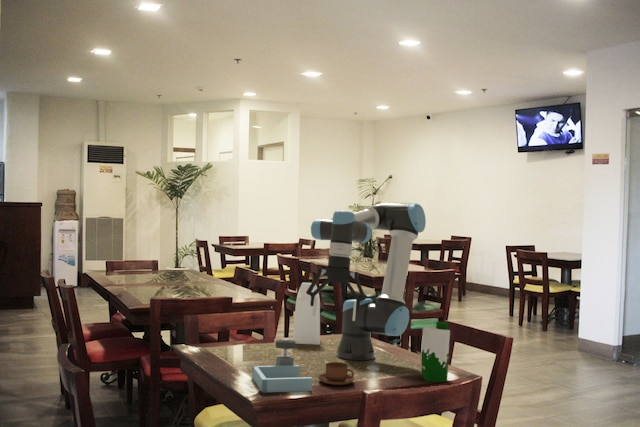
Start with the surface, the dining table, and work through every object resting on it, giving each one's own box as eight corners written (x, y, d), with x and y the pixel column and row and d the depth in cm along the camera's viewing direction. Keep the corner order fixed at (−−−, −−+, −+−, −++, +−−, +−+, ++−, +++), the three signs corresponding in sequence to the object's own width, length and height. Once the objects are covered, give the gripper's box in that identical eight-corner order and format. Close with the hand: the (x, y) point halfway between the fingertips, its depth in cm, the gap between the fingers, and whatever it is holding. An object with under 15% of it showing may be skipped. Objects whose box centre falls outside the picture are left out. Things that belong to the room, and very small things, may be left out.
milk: (292, 343, 275) (295, 283, 276) (293, 338, 287) (295, 281, 287) (320, 344, 275) (322, 284, 276) (319, 339, 287) (322, 282, 287)
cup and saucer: (354, 379, 217) (355, 361, 217) (353, 389, 205) (353, 370, 205) (320, 377, 218) (320, 359, 218) (316, 386, 206) (317, 367, 206)
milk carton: (450, 382, 218) (452, 324, 218) (424, 382, 217) (426, 324, 217) (443, 376, 226) (445, 320, 226) (418, 376, 226) (420, 320, 226)
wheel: (292, 353, 224) (293, 337, 224) (297, 358, 218) (297, 341, 218) (273, 354, 222) (273, 337, 223) (277, 358, 216) (278, 341, 216)
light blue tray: (293, 372, 224) (294, 355, 224) (311, 390, 200) (312, 371, 200) (248, 373, 219) (249, 355, 219) (262, 392, 196) (262, 373, 196)
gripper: (302, 252, 214) (295, 315, 212) (376, 259, 211) (370, 323, 209) (305, 253, 221) (298, 313, 219) (376, 260, 219) (370, 321, 216)
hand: (333, 318), depth 214 cm, fingers open, 13 cm apart
